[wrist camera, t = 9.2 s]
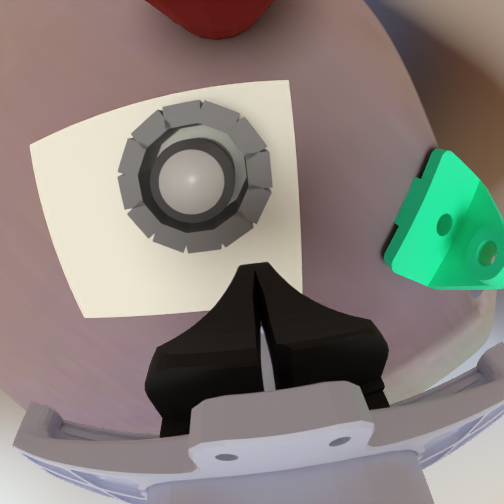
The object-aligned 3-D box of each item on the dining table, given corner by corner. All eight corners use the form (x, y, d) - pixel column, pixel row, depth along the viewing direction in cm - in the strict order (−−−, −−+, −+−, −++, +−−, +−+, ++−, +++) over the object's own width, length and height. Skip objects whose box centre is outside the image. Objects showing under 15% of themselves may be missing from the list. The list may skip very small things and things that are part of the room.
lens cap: (237, 202, 20) (237, 220, 16) (170, 208, 20) (155, 227, 16) (232, 134, 18) (232, 134, 14) (162, 142, 17) (144, 145, 14)
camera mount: (427, 142, 19) (514, 165, 10) (470, 180, 21) (542, 213, 11) (374, 256, 24) (435, 324, 14) (422, 277, 25) (478, 335, 16)
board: (300, 293, 24) (311, 323, 21) (87, 313, 24) (71, 339, 20) (286, 81, 17) (299, 70, 13) (34, 143, 17) (4, 151, 13)
